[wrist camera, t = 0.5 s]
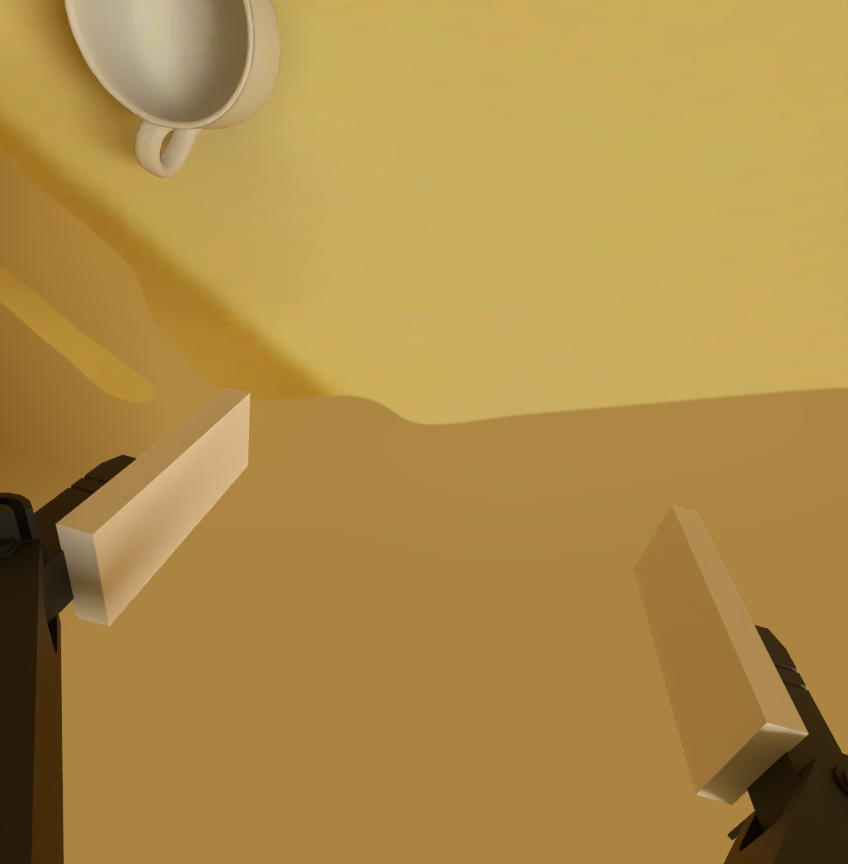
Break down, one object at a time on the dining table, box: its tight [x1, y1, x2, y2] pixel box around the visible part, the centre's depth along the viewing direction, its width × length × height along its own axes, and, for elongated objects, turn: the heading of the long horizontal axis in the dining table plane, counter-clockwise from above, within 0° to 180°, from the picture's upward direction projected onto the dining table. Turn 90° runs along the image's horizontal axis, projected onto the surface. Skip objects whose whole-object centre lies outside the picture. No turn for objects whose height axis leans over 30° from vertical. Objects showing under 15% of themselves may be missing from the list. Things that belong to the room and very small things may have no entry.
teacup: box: [64, 0, 281, 178], centre depth 32 cm, size 14×11×8 cm
